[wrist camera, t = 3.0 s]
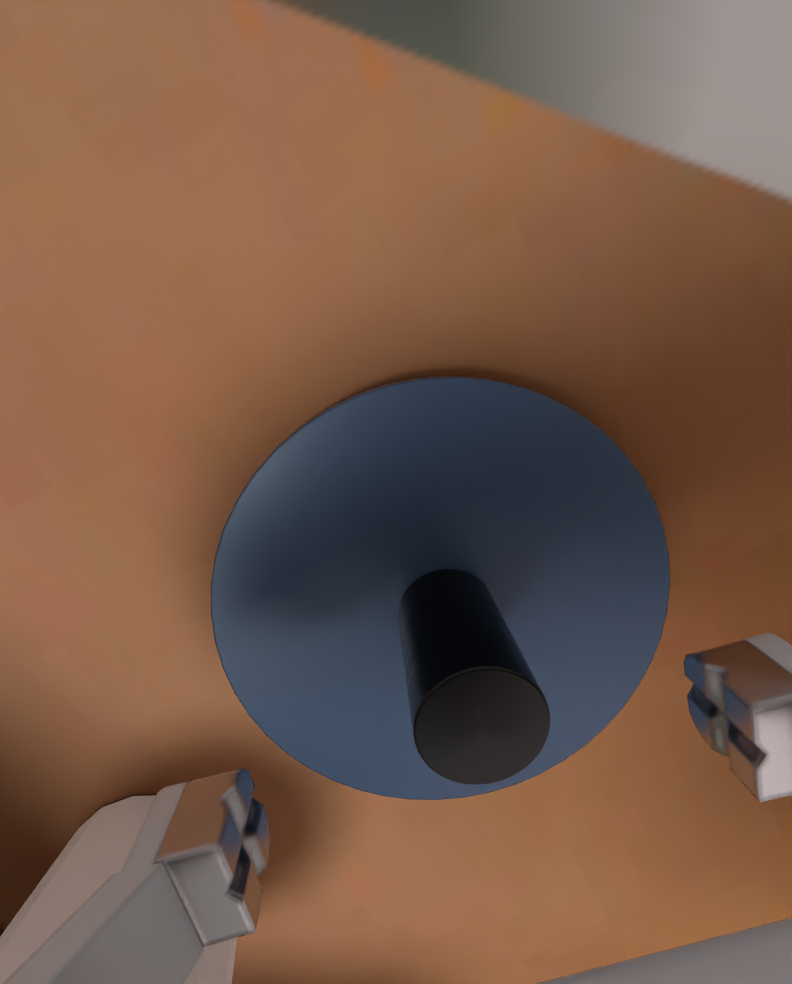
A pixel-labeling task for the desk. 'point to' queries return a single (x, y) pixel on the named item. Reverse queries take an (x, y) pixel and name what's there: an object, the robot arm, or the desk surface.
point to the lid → (440, 588)
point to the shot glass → (93, 890)
